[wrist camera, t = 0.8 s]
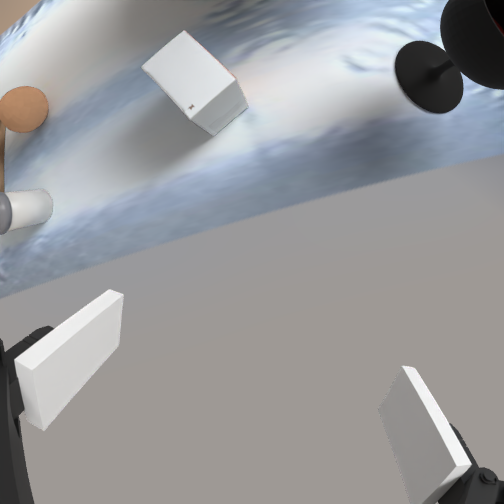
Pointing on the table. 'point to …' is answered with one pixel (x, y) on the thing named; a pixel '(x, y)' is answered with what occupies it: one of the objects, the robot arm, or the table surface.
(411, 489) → the robot arm
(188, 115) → the small box
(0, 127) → the tray
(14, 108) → the egg
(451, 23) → the wine glass
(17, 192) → the shaker
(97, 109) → the table surface
